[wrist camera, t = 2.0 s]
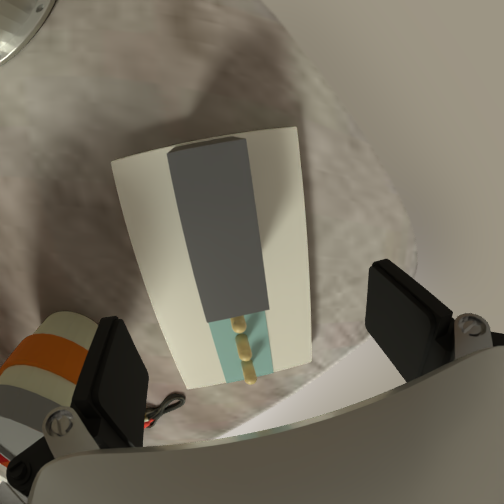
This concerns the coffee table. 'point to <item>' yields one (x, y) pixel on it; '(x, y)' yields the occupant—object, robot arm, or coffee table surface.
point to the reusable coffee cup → (41, 378)
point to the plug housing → (220, 225)
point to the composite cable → (162, 410)
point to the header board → (182, 278)
